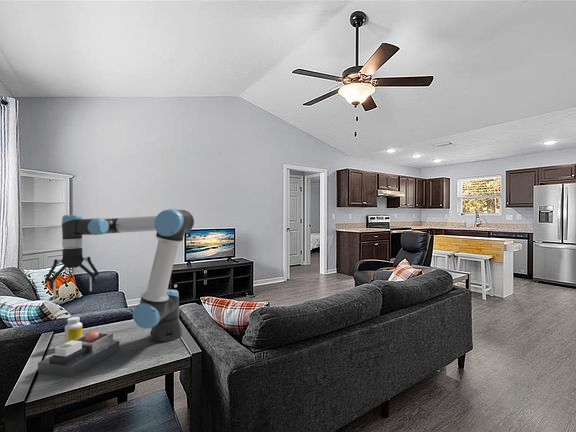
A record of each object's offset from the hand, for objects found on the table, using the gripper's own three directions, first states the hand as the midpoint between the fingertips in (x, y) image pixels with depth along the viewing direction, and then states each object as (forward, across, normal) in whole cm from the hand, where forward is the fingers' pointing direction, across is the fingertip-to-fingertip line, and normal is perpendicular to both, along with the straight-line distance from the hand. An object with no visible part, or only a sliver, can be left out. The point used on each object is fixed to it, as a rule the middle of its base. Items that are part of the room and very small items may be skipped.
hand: (73, 293), depth 136 cm
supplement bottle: (+25, 0, 0) cm, 25 cm away
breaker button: (+18, -7, +16) cm, 25 cm away
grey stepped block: (+25, -3, +19) cm, 32 cm away
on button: (+19, +1, +24) cm, 30 cm away
